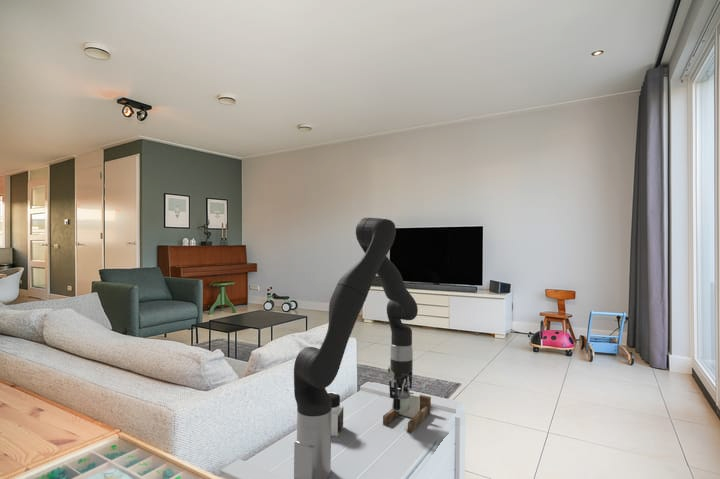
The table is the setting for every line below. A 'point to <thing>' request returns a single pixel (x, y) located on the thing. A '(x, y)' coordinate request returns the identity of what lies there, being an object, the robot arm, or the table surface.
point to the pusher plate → (412, 406)
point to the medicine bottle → (336, 414)
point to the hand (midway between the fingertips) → (401, 405)
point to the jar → (403, 402)
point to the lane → (417, 419)
